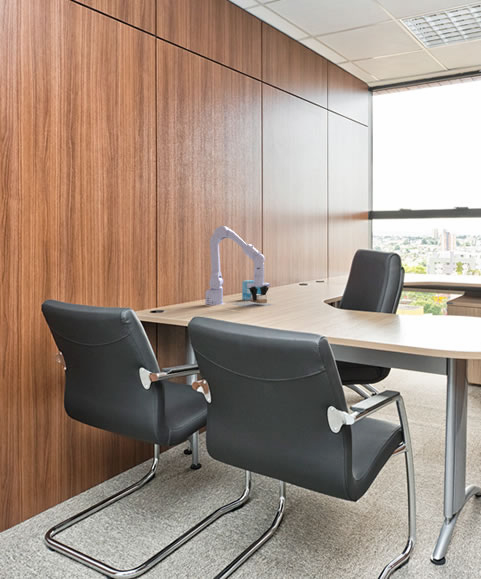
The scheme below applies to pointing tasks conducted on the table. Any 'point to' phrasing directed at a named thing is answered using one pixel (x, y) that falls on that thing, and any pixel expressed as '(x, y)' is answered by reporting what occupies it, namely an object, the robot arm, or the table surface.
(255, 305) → the desk mat
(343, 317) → the table surface
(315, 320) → the table surface
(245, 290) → the data package
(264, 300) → the metal box
